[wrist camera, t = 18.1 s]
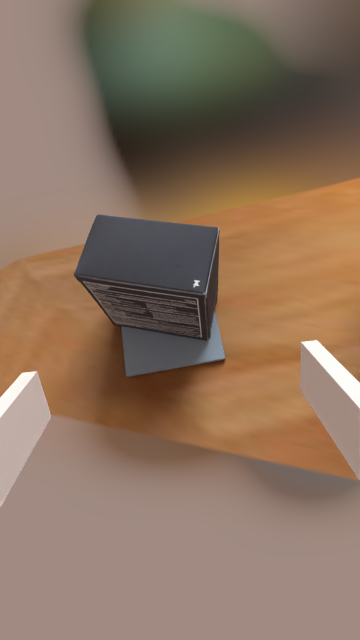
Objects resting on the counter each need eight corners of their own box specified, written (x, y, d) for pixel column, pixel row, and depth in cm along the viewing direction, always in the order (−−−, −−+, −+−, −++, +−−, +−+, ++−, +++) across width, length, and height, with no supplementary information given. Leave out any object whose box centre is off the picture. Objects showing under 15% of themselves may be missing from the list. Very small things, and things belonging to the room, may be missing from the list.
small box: (220, 285, 34) (223, 222, 24) (209, 342, 32) (208, 298, 22) (127, 272, 36) (95, 208, 26) (111, 325, 34) (70, 277, 24)
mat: (201, 251, 37) (201, 248, 36) (225, 359, 32) (225, 358, 31) (116, 267, 37) (115, 264, 36) (127, 377, 32) (126, 375, 32)
